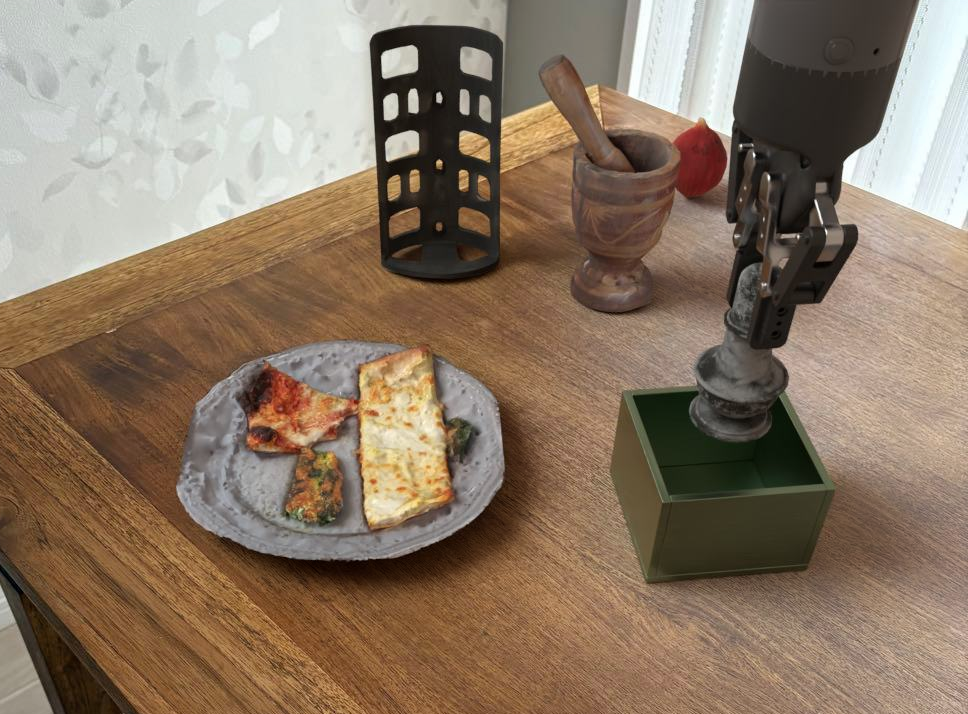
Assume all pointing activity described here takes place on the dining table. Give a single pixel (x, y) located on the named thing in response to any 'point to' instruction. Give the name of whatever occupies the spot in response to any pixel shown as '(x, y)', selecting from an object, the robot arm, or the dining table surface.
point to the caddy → (715, 490)
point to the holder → (438, 148)
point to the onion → (700, 160)
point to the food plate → (342, 451)
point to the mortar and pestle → (612, 196)
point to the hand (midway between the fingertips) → (754, 323)
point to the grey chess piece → (737, 374)
